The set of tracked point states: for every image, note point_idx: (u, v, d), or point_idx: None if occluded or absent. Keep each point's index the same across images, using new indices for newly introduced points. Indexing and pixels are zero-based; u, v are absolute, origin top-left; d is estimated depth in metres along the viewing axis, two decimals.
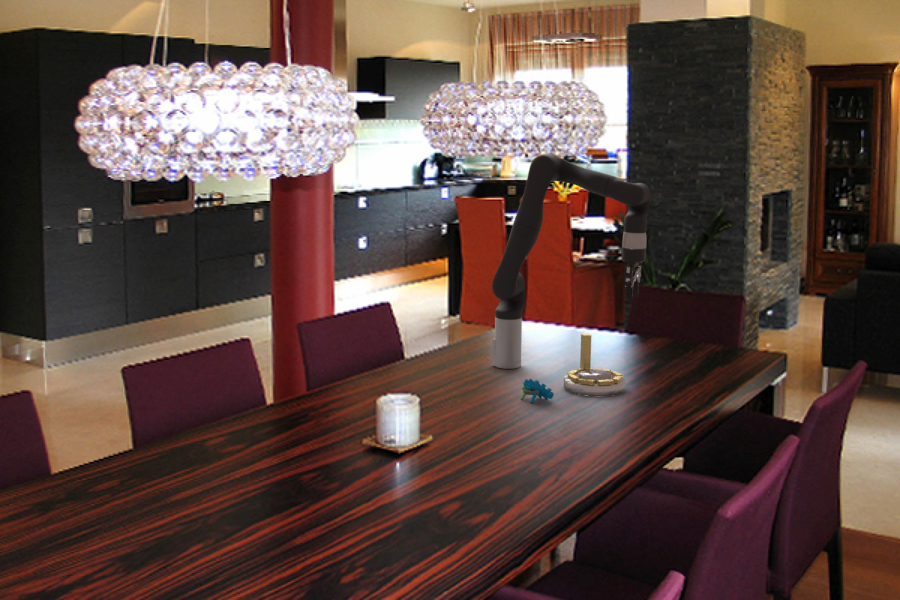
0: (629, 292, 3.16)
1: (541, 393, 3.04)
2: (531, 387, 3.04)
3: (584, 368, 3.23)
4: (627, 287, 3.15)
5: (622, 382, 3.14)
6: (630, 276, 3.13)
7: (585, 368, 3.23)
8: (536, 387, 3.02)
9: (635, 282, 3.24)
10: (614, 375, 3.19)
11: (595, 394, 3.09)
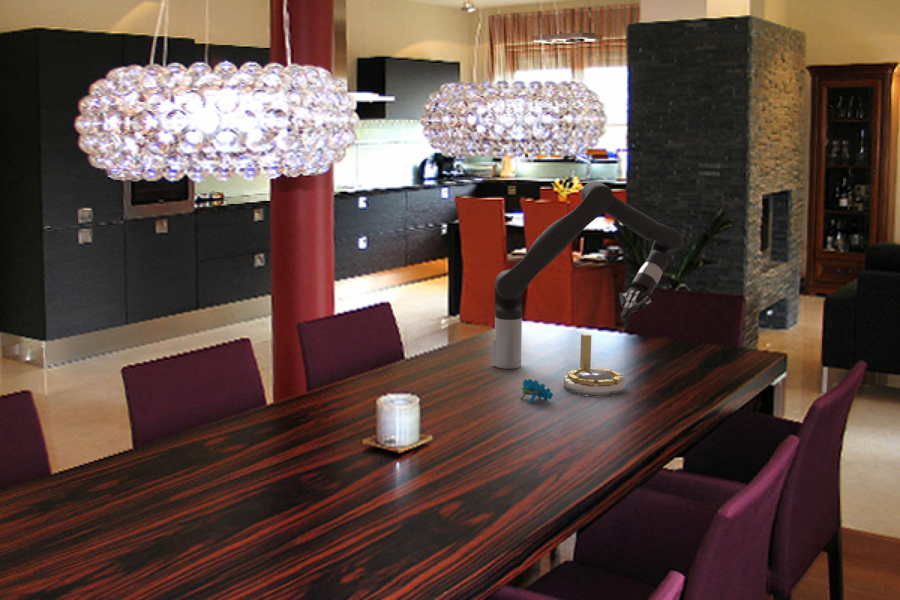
0: (629, 315, 3.34)
1: (540, 393, 3.04)
2: (530, 387, 3.04)
3: (584, 368, 3.23)
4: (631, 310, 3.34)
5: (622, 382, 3.14)
6: (644, 306, 3.34)
7: (585, 368, 3.23)
8: (535, 387, 3.02)
9: None
10: (614, 375, 3.19)
11: (595, 394, 3.09)
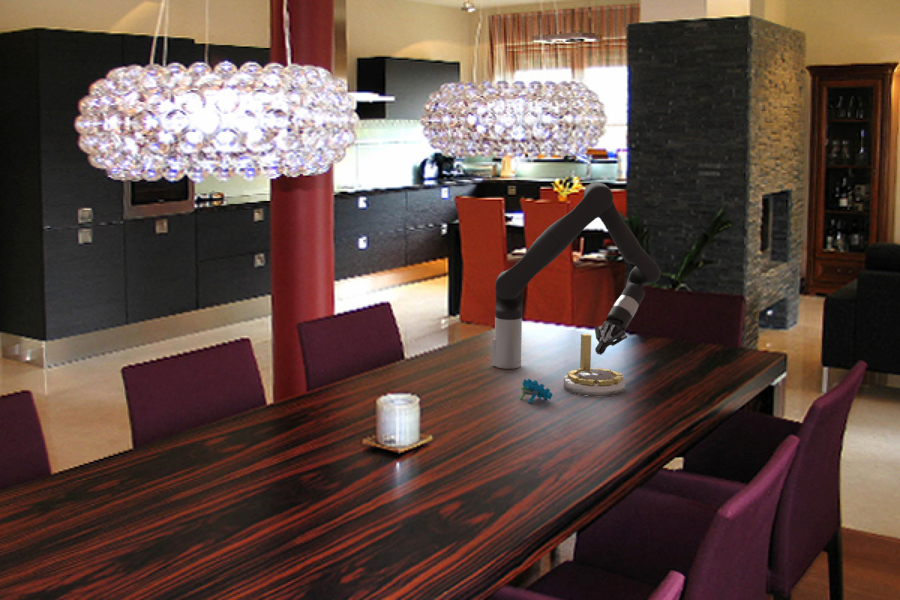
0: (605, 349, 3.28)
1: (540, 393, 3.04)
2: (530, 387, 3.04)
3: (584, 368, 3.23)
4: (606, 344, 3.28)
5: (622, 382, 3.14)
6: (619, 341, 3.27)
7: (585, 368, 3.23)
8: (535, 387, 3.02)
9: None
10: (614, 375, 3.19)
11: (595, 394, 3.09)
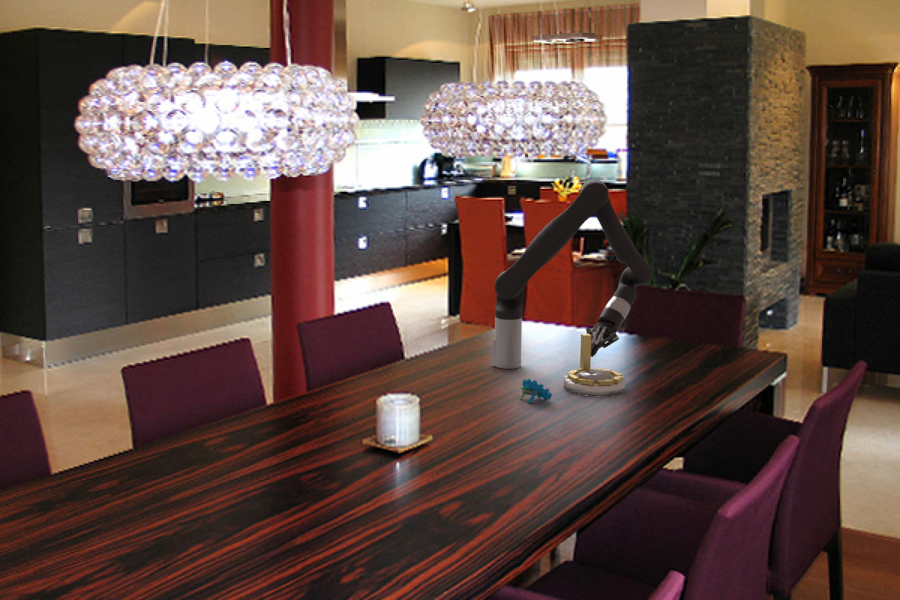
0: (596, 351, 3.25)
1: (540, 394, 3.04)
2: (530, 387, 3.04)
3: (584, 368, 3.23)
4: (598, 346, 3.25)
5: (622, 382, 3.14)
6: (611, 343, 3.25)
7: (585, 368, 3.23)
8: (534, 387, 3.02)
9: None
10: (614, 375, 3.19)
11: (595, 394, 3.09)
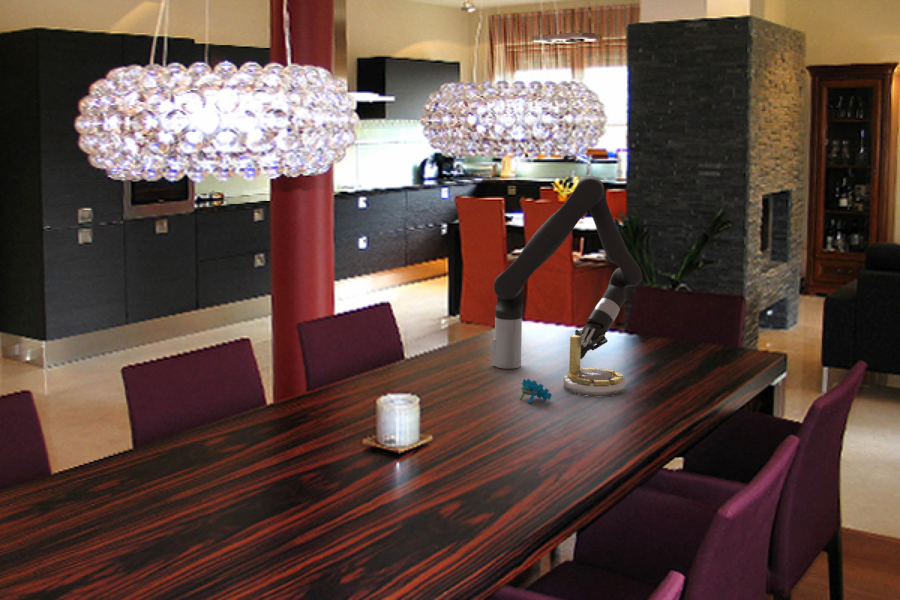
0: (584, 353, 3.23)
1: (539, 394, 3.04)
2: (529, 387, 3.04)
3: (576, 370, 3.20)
4: (586, 348, 3.23)
5: (622, 382, 3.14)
6: (599, 345, 3.22)
7: (577, 370, 3.21)
8: (534, 387, 3.02)
9: None
10: None
11: (595, 394, 3.09)
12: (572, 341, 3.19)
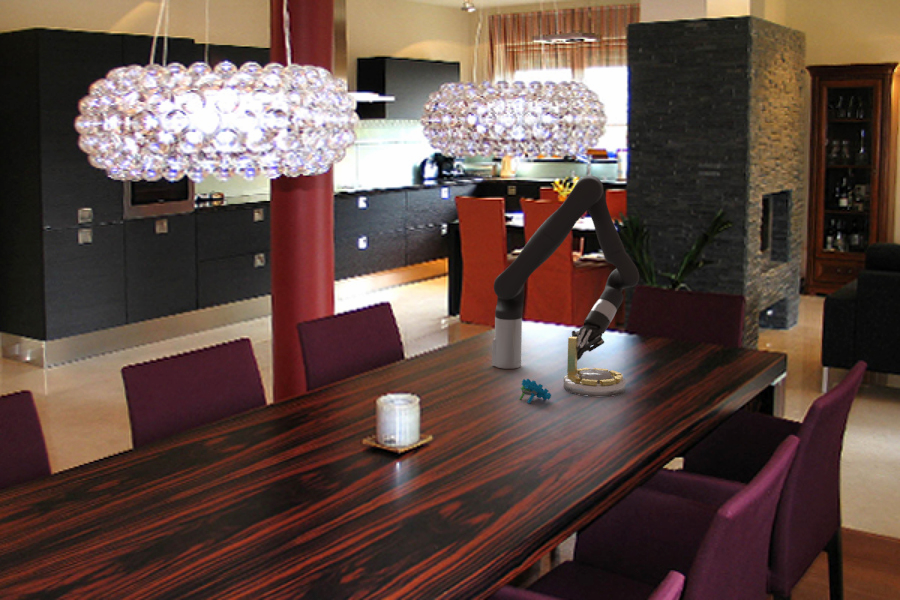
0: (581, 355, 3.21)
1: (539, 394, 3.04)
2: (529, 387, 3.04)
3: (575, 371, 3.19)
4: (583, 349, 3.21)
5: (622, 382, 3.14)
6: (596, 346, 3.20)
7: (575, 371, 3.19)
8: (534, 387, 3.02)
9: None
10: None
11: (595, 394, 3.09)
12: (570, 342, 3.17)
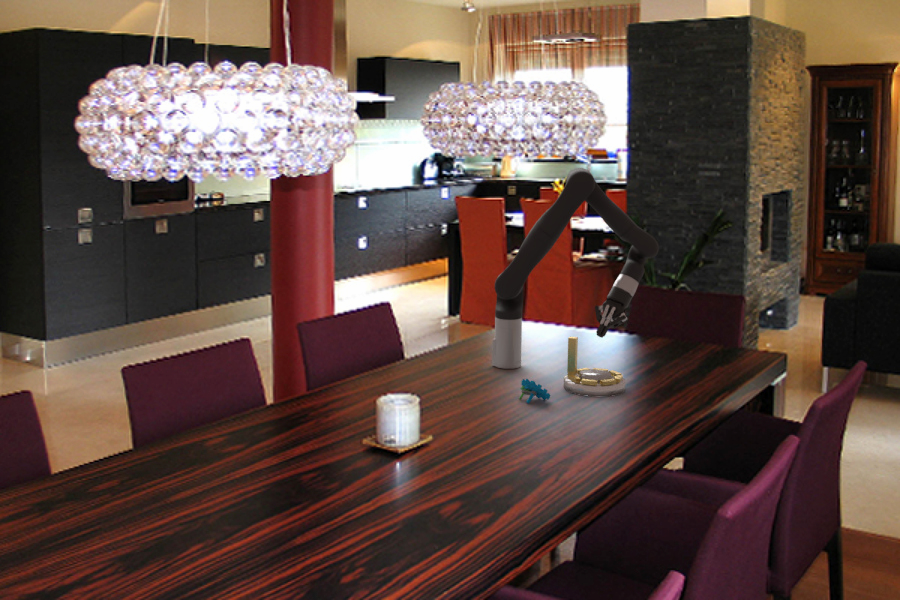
0: (606, 332, 3.31)
1: (538, 394, 3.03)
2: (529, 387, 3.04)
3: (575, 371, 3.19)
4: (607, 327, 3.30)
5: (622, 382, 3.14)
6: (620, 324, 3.30)
7: (575, 371, 3.19)
8: (533, 387, 3.01)
9: None
10: None
11: (595, 394, 3.09)
12: (570, 342, 3.17)
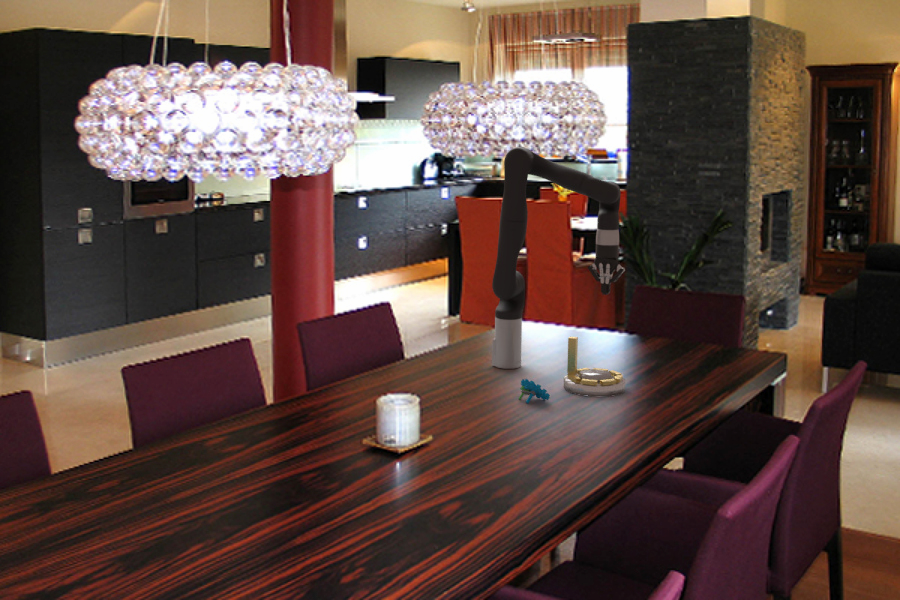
0: (610, 288, 3.32)
1: (538, 394, 3.03)
2: (528, 387, 3.04)
3: (575, 371, 3.19)
4: (610, 284, 3.31)
5: (622, 382, 3.14)
6: (620, 275, 3.30)
7: (575, 371, 3.19)
8: (532, 387, 3.01)
9: None
10: None
11: (595, 394, 3.09)
12: (570, 342, 3.17)
